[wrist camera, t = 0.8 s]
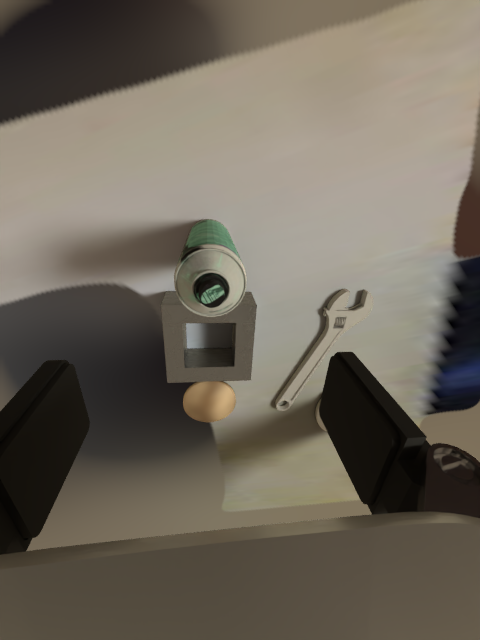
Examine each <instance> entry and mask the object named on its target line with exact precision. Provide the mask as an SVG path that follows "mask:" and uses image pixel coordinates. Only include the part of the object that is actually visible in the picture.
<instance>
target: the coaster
mask: <svg viewBox="0 0 480 640" xmlns="http://www.w3.org/2000/svg"><path fill="white" fill-rule="evenodd" d="M235 403H236V399H235V393H234V391H233V389H232V388H231V387H230V386H229V385H228V384H227V383H225V382H223V381H207V382H196V383H194V384H192V385H191V386H190V387H189V388H188V389H187V390H186V392H185V394H184V398H183V407H184V410H185V411H186V413H187V414H188V415H189V416H190V417H192V418H193V419H195V420H198V421H202V422H214V421H218V420H221V419H223V418H225V417H227V416H228V415H229V414H230V413H231V412H232V411H233V409H234V407H235Z"/></svg>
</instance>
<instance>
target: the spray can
mask: <svg viewBox="0 0 480 640" xmlns="http://www.w3.org/2000/svg"><path fill="white" fill-rule="evenodd" d="M246 279H247V278H246V272H245V269H244V266H243V264H242V261H241V259H240V257H239V255H238V253H237V250H236V248H235V246H234V244H233V241H232V239H231V237H230V235H229V233H228V231H227V229H226V228H225V227H224V226H223V225H222V224H221V223H220V222H218V221H216V220H212V219H206V220H202V221H199V222H198V223H196V224H195V225H194V226H193V227H192V229H191V230H190V233H189V235H188V238H187V240H186V243H185V246H184V248H183V251H182V254H181V256H180V259H179V262H178V264H177V267H176V270H175V275H174V283H175V290H176V294H177V296H178V298H179V300H180V301H181V303H182V304H183V305H184V306H185V307H186V308H187V309H188V310H190V311H192V312H193V313H195V314H198V315H201V316H206V317H216V316H221V315H224V314H227V313H228V312H230V311H232V310H233V309H234V308H235V307H237V306H238V304H239V303H240V302H241V300H242V298H243V296H244V294H245V290H246Z"/></svg>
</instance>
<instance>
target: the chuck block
mask: <svg viewBox="0 0 480 640" xmlns="http://www.w3.org/2000/svg"><path fill="white" fill-rule="evenodd" d="M256 308H257V305H256V303H255V300H254V298H253V295H252V293H251V292H245V294H244V296H243V298H242V300H241V302H240V303H239V304H238V306H237V307H235V308H234V309H233V310H232V311H230V312H228V313H227V314H224V315H221V316H216V317H206V316H201V315H198V314H195V313H193V312H192V311H190V310H188V309H187V308H186V307H185V306H184V305H183V304H182V303H181V301H180V300H179V298H178V296H177V294H176V291H166V293H165V296H164V298H163V301H162V303H161V314H162V325H163V336H164V348H165V360H166V371H167V382H168V383H172V382H207V381H240V380H251V369H252V357H253V344H254V332H255V320H256ZM186 323H233V327H232V348H202V349H187V339H186Z"/></svg>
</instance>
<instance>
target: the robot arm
mask: <svg viewBox="0 0 480 640" xmlns="http://www.w3.org/2000/svg"><path fill="white" fill-rule="evenodd" d="M315 416H316V420H317V422H318V424H319V426H320V427H321V428H322V429H323V430H324V431H326V432H328V434H329V436H330V438H331V440H332V442H333V444H334V446H335V449H336V451H337V453H338V455H339V457H340V459H341V461H342V463H343V465H344V467H345V469H346V471H347V473H348V475H349V477H350V479H351V481H352V483H353V485H354V487H355V489H356V491H357V493H358V495H359V498H360V499H361V501H362V502H363V503H364V504H367V505H368V507H369V509H370V511H371V513H372V515H362V516H350V517H340V518H331V519H320V520H311V521H300V522H291V523H281V524H270V525H261V526H252V527H241V528H232V529H223V530H212V531H204V532H194V533H184V534H175V535H166V536H156V537H147V538H138V539H129V540H120V541H111V542H102V543H93V544H84V545H75V546H66V547H57V548H49V549H41V550H33V551H26V550H27V548H28V546H29V544H30V542H31V540H32V538H34V537H36V536H38V535H39V533H40V532H41V530H42V528H43V526H44V524H45V522H46V519H47V517H48V515H49V513H50V511H51V509H52V507H53V504H54V502H55V500H56V498H57V496H58V494H59V492H60V490H61V488H62V485H63V483H64V481H65V479H66V477H67V475H68V473H69V471H70V469H71V466H72V464H73V462H74V460H75V458H76V456H77V454H78V451H79V449H80V447H81V445H82V443H83V441H84V439H85V437H86V435H87V432H88V430H89V424H90V421H89V417H88V413H87V410H86V406H85V403H84V399H83V396H82V392H81V388H80V385H79V381H78V378H77V374H76V371H75V367H74V365H73V364H69V362H68V361H66V360H48V361H46V362H44V363H43V364H42V366H41V367H40V368H39V369H38V370H37V371H36V372H35V374H33V376H32V377H31V378H30V379H29V380H28V381H27V382H26V383H25V385H24V386H23V387H22V388H21V389H20V390H19V391H18V392H17V393H16V395H15V396H14V397H13V398H12V399H11V400H10V401H9V403H8V404H7V405H6V406H5V407H4V408H3V409H2V410H1V411H0V640H480V462H479V461H478V460H477V459H476V458H475V457H473V456H472V455H470V454H469V453H467V452H466V451H464V450H462V449H460V448H458V447H455V446H452V445H449V444H444V443H436V444H432V445H430V444H429V443H428V442H427V441H426V440H425V439H426V436H425V435H424V433H423V432H422V431H421V430H420V429H419V428H418V426H417V425H416V424H415V423H414V422H413V421H412V420H411V418H410V417H409V416H408V415H407V414H406V413H405V412H404V410H403V409H402V408H401V407H400V406H399V405H398V404H397V402H396V401H395V400H394V399H393V398H392V397H391V395H390V394H389V393H388V392H387V391H386V390H385V389H384V387H383V386H382V385H381V384H380V383H379V382H378V381H377V379H376V378H375V377H374V376H373V375H372V374H371V373H370V371H369V370H368V369H367V368H366V367H365V366H364V364H363V363H362V362H361V361H360V360H359V359H358V358H357V356H356V355H355V354H354V353H353V352H337V353H336V354H335V355H334V356H332V357H331V359H330V362H329V367H328V371H327V375H326V380H325V384H324V388H323V393H322V397H321V399H320V400H319V402H318V404H317V406H316V410H315Z"/></svg>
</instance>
